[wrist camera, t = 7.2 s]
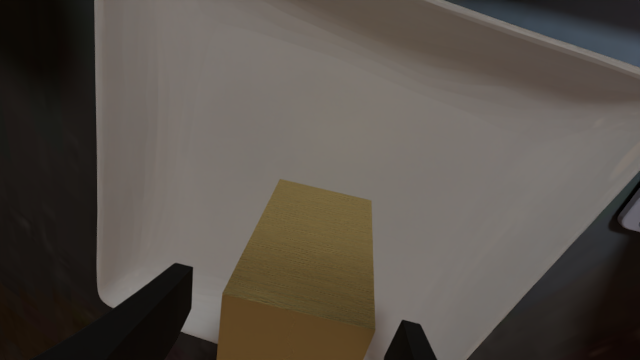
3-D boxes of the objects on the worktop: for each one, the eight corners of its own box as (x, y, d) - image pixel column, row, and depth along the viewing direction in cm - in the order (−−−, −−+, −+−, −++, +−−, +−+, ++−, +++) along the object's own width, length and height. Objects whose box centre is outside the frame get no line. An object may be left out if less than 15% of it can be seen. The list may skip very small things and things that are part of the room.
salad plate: (127, 270, 23) (90, 310, 20) (147, -112, 13) (81, -148, 10) (415, 365, 24) (422, 417, 21) (640, 73, 14) (717, 91, 11)
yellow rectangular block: (371, 200, 14) (375, 330, 8) (349, 269, 16) (340, 415, 10) (279, 178, 14) (222, 293, 8) (268, 250, 16) (214, 383, 10)
